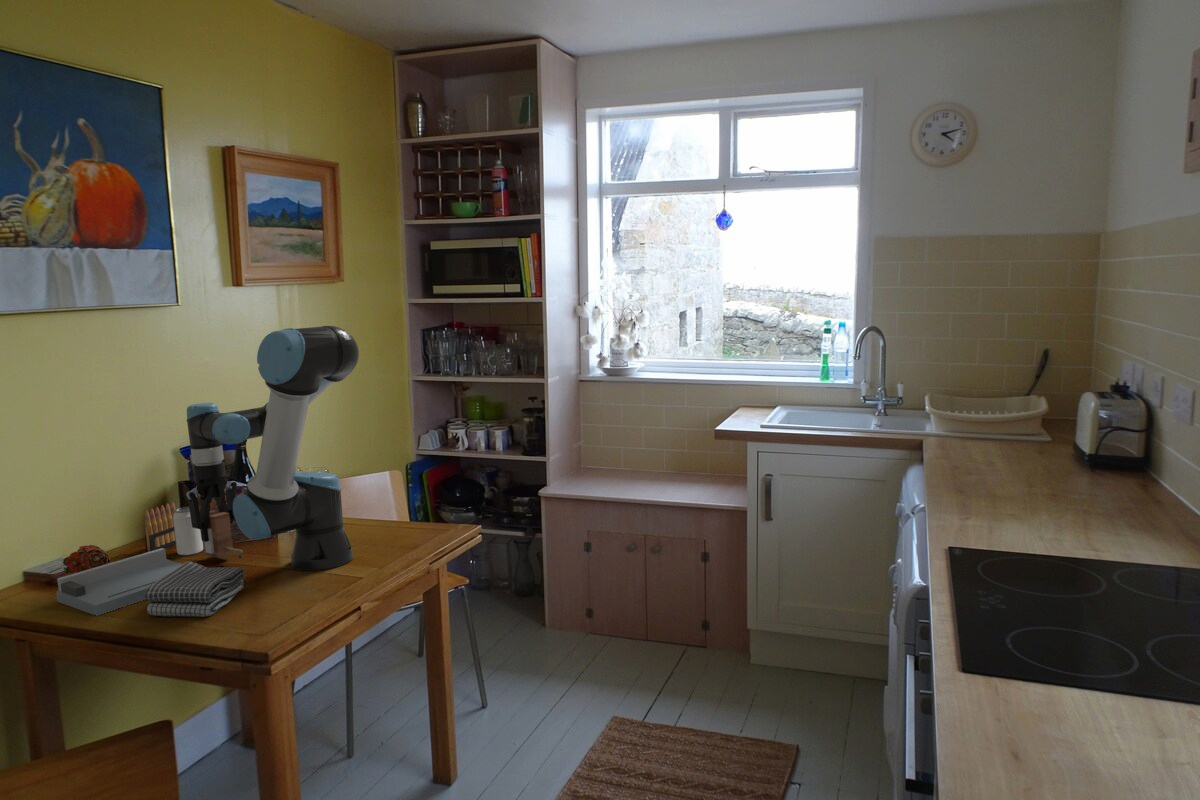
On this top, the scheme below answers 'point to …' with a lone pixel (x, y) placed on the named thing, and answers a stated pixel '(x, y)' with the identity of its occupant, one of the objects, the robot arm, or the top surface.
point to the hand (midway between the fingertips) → (218, 549)
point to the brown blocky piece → (221, 535)
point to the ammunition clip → (160, 528)
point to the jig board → (114, 583)
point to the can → (186, 533)
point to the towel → (194, 590)
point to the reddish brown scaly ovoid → (85, 559)
